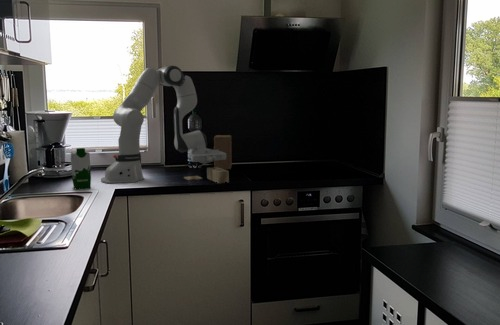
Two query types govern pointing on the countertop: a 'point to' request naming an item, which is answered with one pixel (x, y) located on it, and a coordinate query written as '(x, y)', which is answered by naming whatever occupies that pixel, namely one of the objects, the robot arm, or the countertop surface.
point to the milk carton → (81, 169)
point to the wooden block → (225, 146)
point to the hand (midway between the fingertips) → (213, 158)
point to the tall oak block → (217, 175)
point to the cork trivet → (193, 178)
